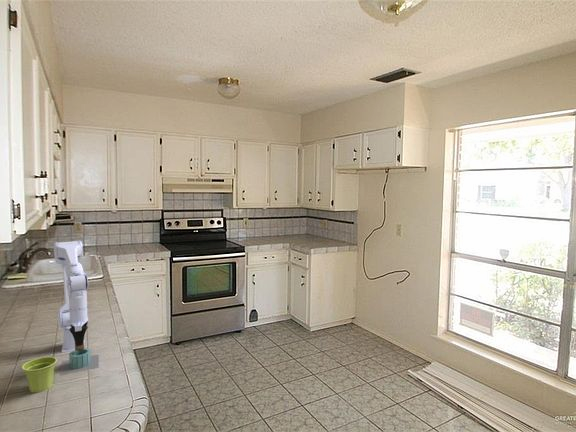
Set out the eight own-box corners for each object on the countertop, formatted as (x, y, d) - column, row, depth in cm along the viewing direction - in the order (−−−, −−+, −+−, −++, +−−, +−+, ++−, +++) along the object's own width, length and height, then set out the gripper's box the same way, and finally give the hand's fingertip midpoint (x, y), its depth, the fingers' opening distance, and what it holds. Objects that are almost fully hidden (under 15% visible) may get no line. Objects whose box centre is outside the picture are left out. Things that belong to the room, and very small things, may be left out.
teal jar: (70, 362, 136) (69, 350, 136) (90, 358, 140) (90, 347, 139) (69, 370, 131) (68, 358, 130) (90, 366, 134) (90, 354, 133)
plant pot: (20, 388, 119) (19, 362, 119) (54, 378, 126) (53, 353, 125) (26, 400, 113) (24, 373, 112) (61, 388, 119) (60, 363, 119)
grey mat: (62, 362, 138) (62, 361, 138) (98, 355, 143) (98, 354, 143) (60, 376, 127) (60, 375, 127) (98, 368, 133) (98, 367, 133)
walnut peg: (75, 348, 135) (74, 327, 135) (84, 346, 137) (83, 325, 136) (74, 351, 133) (73, 330, 132) (84, 349, 134) (83, 328, 133)
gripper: (66, 303, 138) (68, 338, 139) (64, 315, 125) (65, 353, 126) (87, 301, 141) (89, 335, 142) (87, 312, 129) (88, 349, 130)
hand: (79, 343), depth 135 cm, fingers closed on walnut peg, 3 cm apart
